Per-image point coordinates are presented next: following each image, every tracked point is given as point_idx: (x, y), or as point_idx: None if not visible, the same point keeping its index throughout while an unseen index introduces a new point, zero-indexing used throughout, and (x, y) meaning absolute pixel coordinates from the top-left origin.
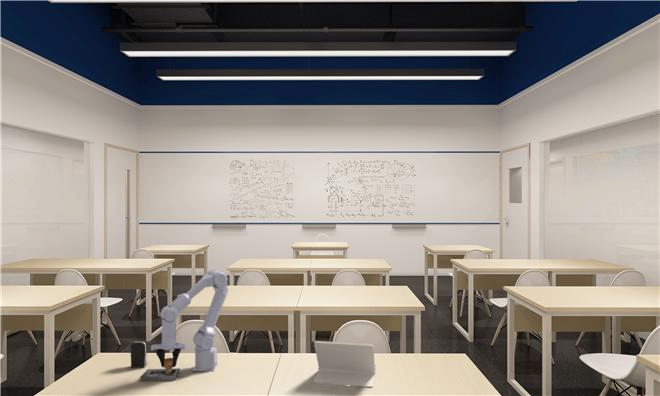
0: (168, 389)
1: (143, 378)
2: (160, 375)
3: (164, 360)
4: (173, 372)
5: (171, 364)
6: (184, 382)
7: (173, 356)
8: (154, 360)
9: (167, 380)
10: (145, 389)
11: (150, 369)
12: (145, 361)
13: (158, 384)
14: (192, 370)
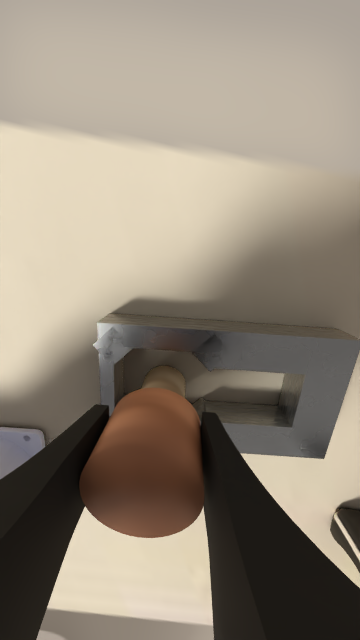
0: (101, 159)
1: (329, 334)
2: (209, 345)
3: (193, 475)
4: None
5: (111, 419)
6: (28, 276)
7: (7, 518)
8: None
9: (155, 316)
10: (279, 184)
11: (303, 451)
12: (355, 552)
13: (202, 265)
14: (40, 434)
